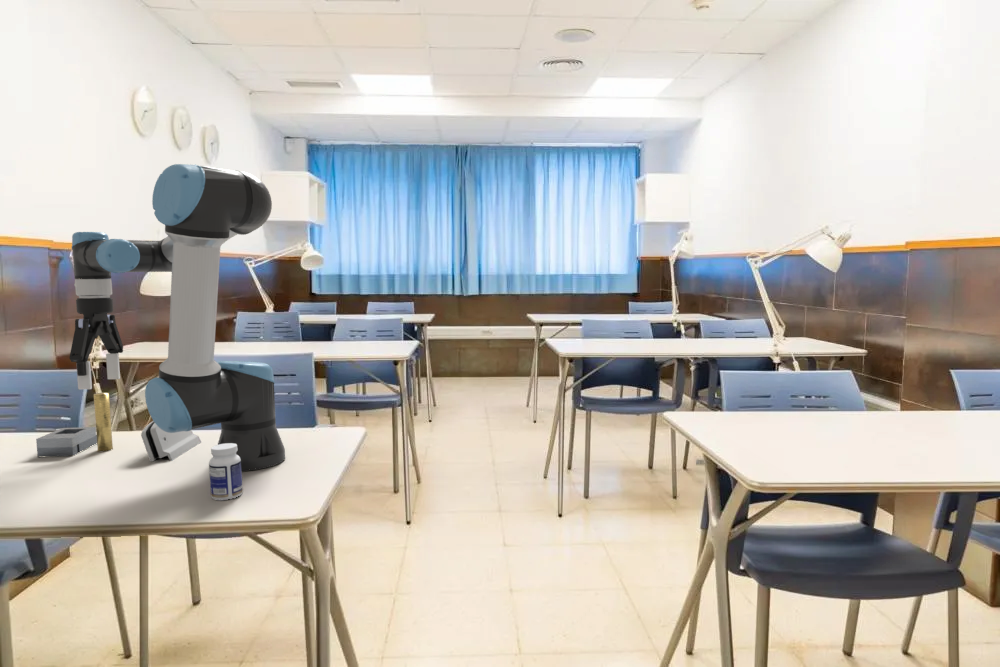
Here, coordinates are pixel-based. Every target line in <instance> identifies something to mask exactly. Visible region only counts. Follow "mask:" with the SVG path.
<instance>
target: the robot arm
mask: <svg viewBox="0 0 1000 667" xmlns="http://www.w3.org/2000/svg"><path fill="white" fill-rule="evenodd" d="M151 202H152V209H153V210H154V216H155V218H156V219H157V221H158V222H159V223H161V224H163V225H164V233H165V234H166V235H167V236H166V237H164V238H163V239H161V240H137V239H136V240H135V239H122V238H109V235H108V234H107V233H106V232H101V231H76V232H74V233H73V234H72V236H71V239H72V240H71V244H72V245H71V250H72V260H73V273H74V284H73V286H74V287H75V288H74V289H75V295H76V296H77V297H78V298H76V299H75V304H76V306H75V307H76V312H77V314H81V315H83V317H82V318H76V319H75V320H74V331H73V337H72V343H71V348H70V352H69V360H70V362H72V363H75V364H76V379H77V389H78V390H92V389H93V383H92V369H91V368H92V367H91V361H90V360H89V358H90V354H91V352H92V349H93V345H94V343H95V340H96V339H97V338H98V337H99V338H100V340H101V342H102V343H103V346H104V347H105V350H106V351H107V353H106V354H105V360H106V375H107V380H120V379H121V372H120V371H121V369H120V356H119V354H123V352H124V345H123V342H122V338H121V336H120V332H119V328H118V326H117V322H116V315H114V314H111V313H113V311H114V302H113V298H112V297H111V296H112V295H113V284H112V283H113V282H112V273H114V274H118V273H120V274H121V273H169V272H170V273H171V279H170V280H171V282H170V303H169V323H168V324H169V325H168V326H169V329H168V347H167V348H168V349H167V350H168V351H167V358H166V359H164V361H162V362H161V363H160V364H159V365H158V366H159V367H158V368H159V369H158V377H153V378H152V379H150V380H148V382H147V383H146V386H145V390H144V397H145V404H146V407H147V410H148V414H149V416H150V417H151V419H152V421H154V422H155V424H156V425H157V426H158V427H159V428H160V429H162V430H163V431H165V432H169V433H175V432H181V431H190V430H192V431H193V430H196V429H201V428H205V427H209V426H215V425H218V424H220V434H219V439H218V442H217V445H219V444H225V443H234V444H237V449H238V451H237V452H236V455H238V456H239V457H240V459H241V472H247V471H248V470H249V471H256V469H257V470H262V469H265V468H266V467H267V468H270V466H271V467H273V465H274V466H276V464H277V465H279V464H281V463H282V462H284V461H285V460H286V451H285V450H286V448H285V446H284V443H283V440H282V437H281V436H280V432H279V430H278V429H277V423H276V422H277V421H276V403H275V402H276V400H275V398H276V397H275V383H276V382H275V377H274V370H273V367H272V366H271V365H270V364H268V363H265V362H258V361H257V362H256V361H240V360H239V361H235V360H230V361H229V360H228V361H226V360H224V361H223V360H222V361H219V362H217V361H216V360H215V343H216V327H217V311H218V297H219V296H218V295H219V294H218V292H219V280H220V279H219V275H220V260H221V259H220V258H221V246H222V245H223V244H225V243H226V242H227V241H229V240H230V239H231V238H233V237H235V236H237V235H241V236H244V235H248V234H251V233H252V232H254V231H256V230H258V229H259V228H260V227H262V226H263V225H265V223H266V222H267V221H268V220H269V218H270V215H271V212H272V207H273V205H272V204H273V203H272V197H271V194H270V191H269V189H268V187H267V186H266V185H265V184H264V182H263V181H261V179H260V178H259V177H257V176H255V175H253V174H252V173H248V172H246V171H244V170H243V171H242V170H236V169H235V170H234V169H233V170H232V169H228V168H227V169H226V168H220V167H219V168H218V167H211V166H204V165H199V164H188V163H187V164H183V163H175V164H171V165H169V166H167V167H166V168H165V169H164V170H162V172H161V173H160V174H159V176H158V177H157V180H156V182H155V184H154V187H153V192H152V201H151ZM284 459H285V460H284ZM283 460H284V461H283ZM261 468H262V469H261Z"/></svg>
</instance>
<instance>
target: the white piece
mask: <svg viewBox="0 0 1000 667" xmlns="http://www.w3.org/2000/svg"><path fill="white" fill-rule="evenodd" d="M140 436H141V439H142V442H143V446H144V448H145V451H146V454H147V456H148V459H149V462H154V461H155V460H157V459H162V458H164V457H168V459H169V461H173V460H175V459H177V458H178V457H181V456H182V455H183V454H185V453H186V452H188V451H190V450H191V449H193V448H195V447H196V446H197V444H198V445H199V444H201V443H202V440H201V438H200V436H199V435H198V434H195V433H193V429H192V430H190V431H181V432H175V433H169V432H165V431H163V430H162V429H160V428H159V427H158V426H157V425H156V424H155V422H154V421H153V420H152V421H151V422H149V423H148V424H147V425H146V426H145V427H144V428H143V430H142V431H141V433H140ZM200 442H201V443H200Z"/></svg>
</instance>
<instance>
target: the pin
mask: <svg viewBox="0 0 1000 667" xmlns="http://www.w3.org/2000/svg"><path fill="white" fill-rule="evenodd" d="M110 402H111V401H110V393H109V392H97V393H94V394H93V403H94V405H93V406H94V416H95V417H94V418H95V427H96V435H97V444H96V447H97V452H99V451H103V452H109V451H108V450H110V451H112V450H114V446H113V445H114V444H113V435H112V434H113V433H112V432H113V431H112V418H111V403H110ZM111 449H112V450H111Z"/></svg>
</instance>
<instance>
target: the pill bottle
mask: <svg viewBox="0 0 1000 667" xmlns="http://www.w3.org/2000/svg"><path fill="white" fill-rule="evenodd" d="M237 451H238V449H237V444H234V443H225V444H219V445H218V444H216V445H213V446H212V447H210V452H211V453H210V454H211V455H212V457H211V458H210V459H209V462H208V467H209V468H208V469H209V472H208V473H209V484H210V496H211V499H212V500H215V501H229V500H228V499H230V500H233V499H232V498H234V499H237V498H238V496H239V497H241V495H242V494H243V492H244V491H243V490H244V489H243V476H242V474H243V473H242V472H243V471H241V459H240V457H239V456H238V455H236V452H237ZM236 497H237V498H236Z"/></svg>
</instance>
